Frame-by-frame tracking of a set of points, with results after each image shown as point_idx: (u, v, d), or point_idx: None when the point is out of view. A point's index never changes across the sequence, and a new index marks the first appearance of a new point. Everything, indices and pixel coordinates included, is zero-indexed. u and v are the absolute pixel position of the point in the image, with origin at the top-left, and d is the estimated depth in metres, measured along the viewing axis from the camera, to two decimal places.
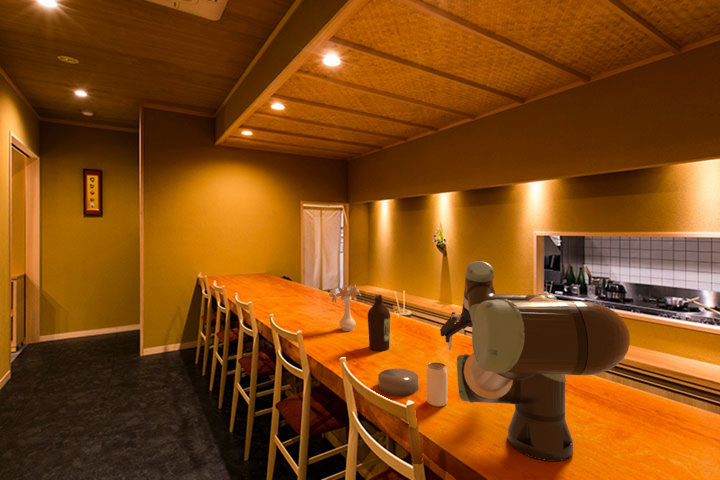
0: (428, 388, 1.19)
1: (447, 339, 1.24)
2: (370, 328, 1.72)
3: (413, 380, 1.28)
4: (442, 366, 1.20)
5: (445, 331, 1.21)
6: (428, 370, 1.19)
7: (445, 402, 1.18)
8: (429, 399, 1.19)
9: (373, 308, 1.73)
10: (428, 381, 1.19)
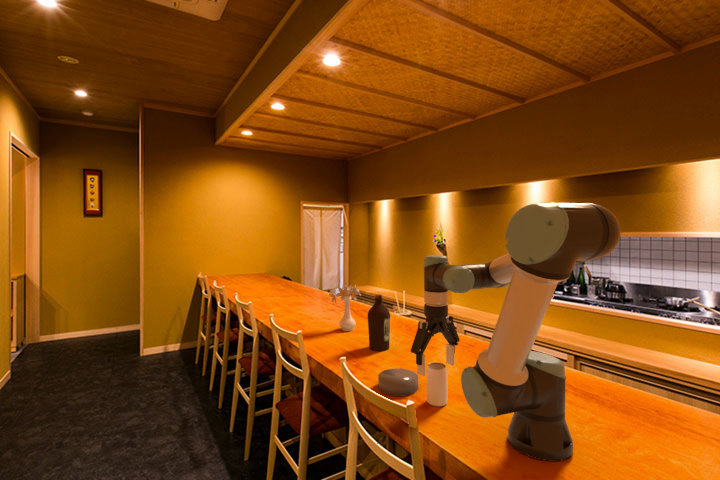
0: (428, 388, 1.19)
1: (420, 360, 1.15)
2: (370, 328, 1.72)
3: (413, 380, 1.28)
4: (442, 366, 1.20)
5: (419, 345, 1.14)
6: (428, 370, 1.19)
7: (445, 402, 1.18)
8: (429, 399, 1.19)
9: (373, 308, 1.73)
10: (428, 381, 1.19)
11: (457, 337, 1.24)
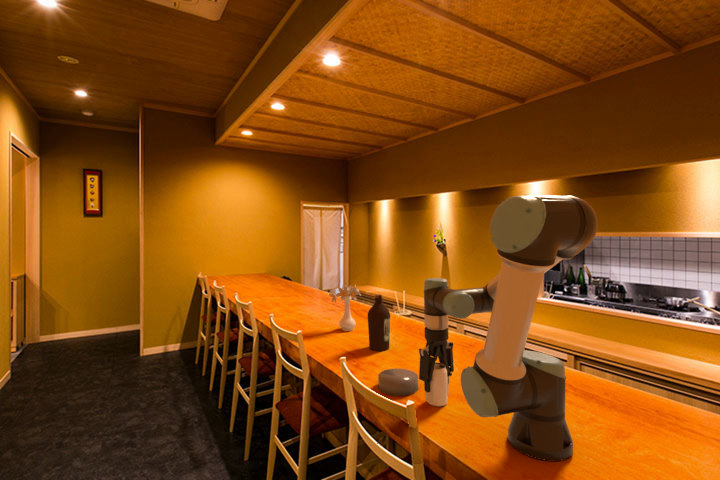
0: None
1: (428, 387, 1.17)
2: (370, 328, 1.72)
3: (413, 380, 1.28)
4: (442, 366, 1.20)
5: (426, 373, 1.15)
6: None
7: (445, 402, 1.18)
8: None
9: (373, 308, 1.73)
10: None
11: (452, 367, 1.23)
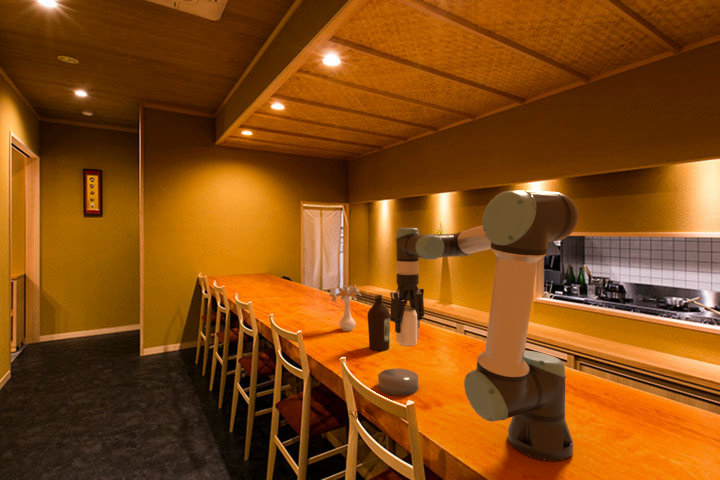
0: None
1: (399, 328, 1.25)
2: (370, 328, 1.72)
3: (413, 380, 1.28)
4: (412, 310, 1.28)
5: (396, 314, 1.24)
6: None
7: (414, 342, 1.26)
8: None
9: (373, 308, 1.73)
10: None
11: (422, 312, 1.31)
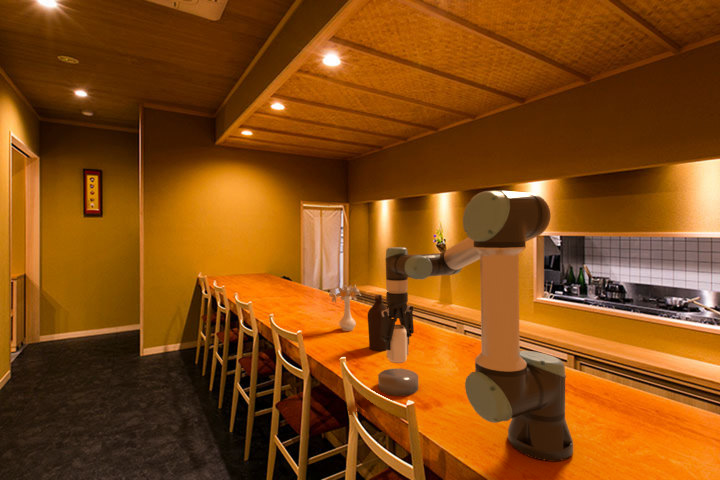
0: None
1: (389, 345, 1.29)
2: (370, 328, 1.72)
3: (413, 380, 1.28)
4: (402, 327, 1.32)
5: (386, 332, 1.27)
6: None
7: (404, 359, 1.30)
8: None
9: (373, 308, 1.73)
10: None
11: (412, 328, 1.34)
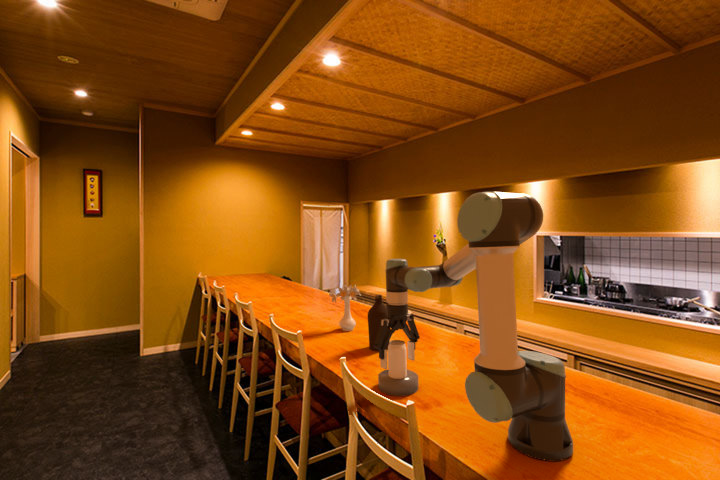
0: (389, 363, 1.31)
1: (382, 354, 1.27)
2: (370, 328, 1.72)
3: (413, 380, 1.28)
4: (402, 343, 1.32)
5: (381, 341, 1.26)
6: (389, 346, 1.31)
7: (404, 375, 1.30)
8: (390, 373, 1.30)
9: (373, 308, 1.73)
10: (389, 356, 1.30)
11: (417, 334, 1.36)
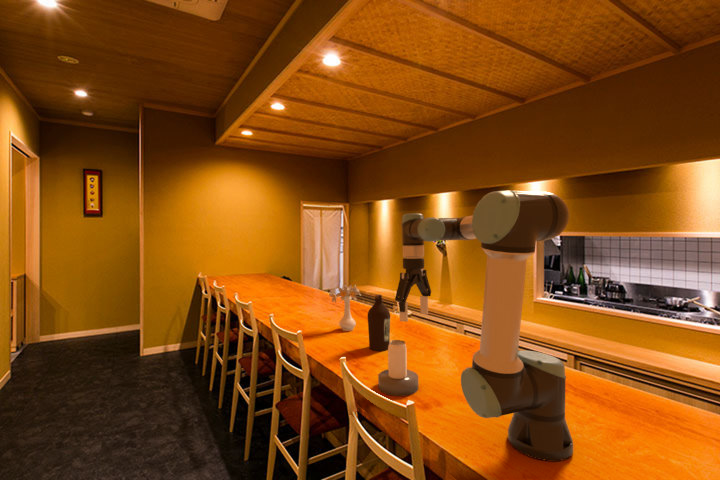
0: (389, 363, 1.31)
1: (403, 307, 1.26)
2: (370, 328, 1.72)
3: (413, 380, 1.28)
4: (402, 343, 1.32)
5: (403, 293, 1.25)
6: (389, 346, 1.31)
7: (404, 375, 1.30)
8: (390, 373, 1.30)
9: (373, 308, 1.73)
10: (389, 356, 1.30)
11: (429, 289, 1.38)
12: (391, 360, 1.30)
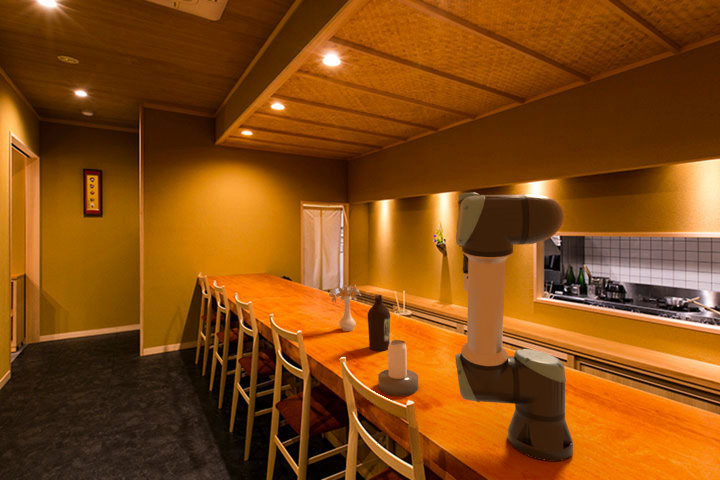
0: (389, 363, 1.31)
1: None
2: (370, 328, 1.72)
3: (413, 380, 1.28)
4: (402, 343, 1.32)
5: None
6: (389, 346, 1.31)
7: (404, 375, 1.30)
8: (390, 373, 1.30)
9: (373, 308, 1.73)
10: (389, 356, 1.30)
11: None
12: (391, 360, 1.29)
